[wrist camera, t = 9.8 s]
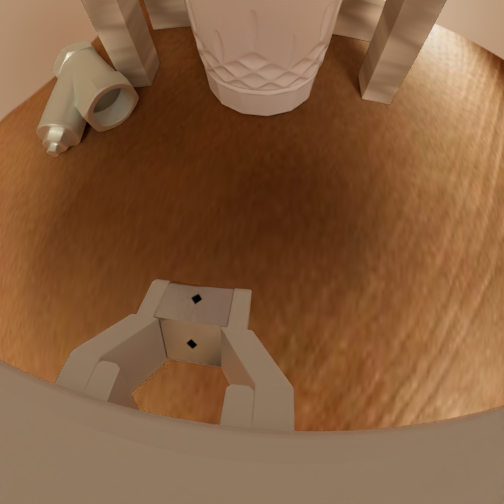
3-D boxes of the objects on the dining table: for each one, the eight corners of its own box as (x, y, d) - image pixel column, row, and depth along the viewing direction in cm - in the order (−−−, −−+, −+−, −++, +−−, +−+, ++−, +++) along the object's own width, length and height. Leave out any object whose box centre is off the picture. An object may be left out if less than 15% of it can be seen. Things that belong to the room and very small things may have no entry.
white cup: (333, 123, 17) (382, -14, 7) (201, 131, 17) (161, -14, 7) (308, 43, 18) (326, -69, 8) (201, 49, 18) (179, -66, 8)
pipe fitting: (69, 176, 17) (145, 106, 17) (34, 152, 13) (122, 70, 13) (40, 117, 18) (101, 61, 19) (12, 94, 14) (80, 32, 15)
